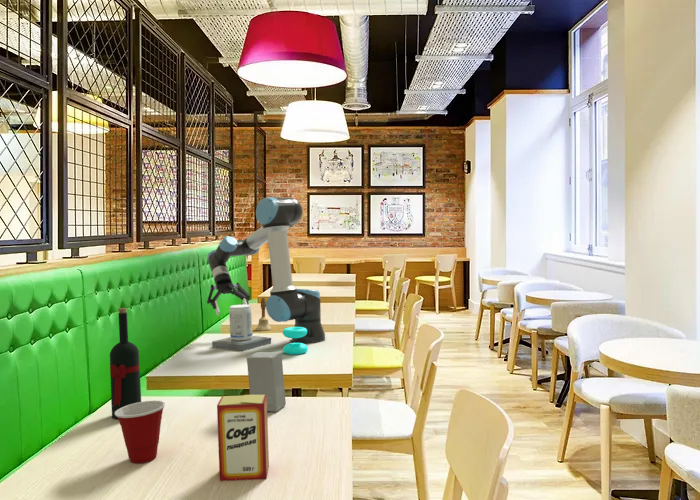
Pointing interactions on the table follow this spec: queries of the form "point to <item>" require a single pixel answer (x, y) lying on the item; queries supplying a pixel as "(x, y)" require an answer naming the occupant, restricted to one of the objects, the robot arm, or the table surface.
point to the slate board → (241, 343)
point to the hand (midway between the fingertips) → (233, 312)
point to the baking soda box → (243, 437)
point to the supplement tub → (240, 322)
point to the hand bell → (263, 318)
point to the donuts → (295, 347)
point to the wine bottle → (124, 369)
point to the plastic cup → (141, 429)
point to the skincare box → (267, 378)
